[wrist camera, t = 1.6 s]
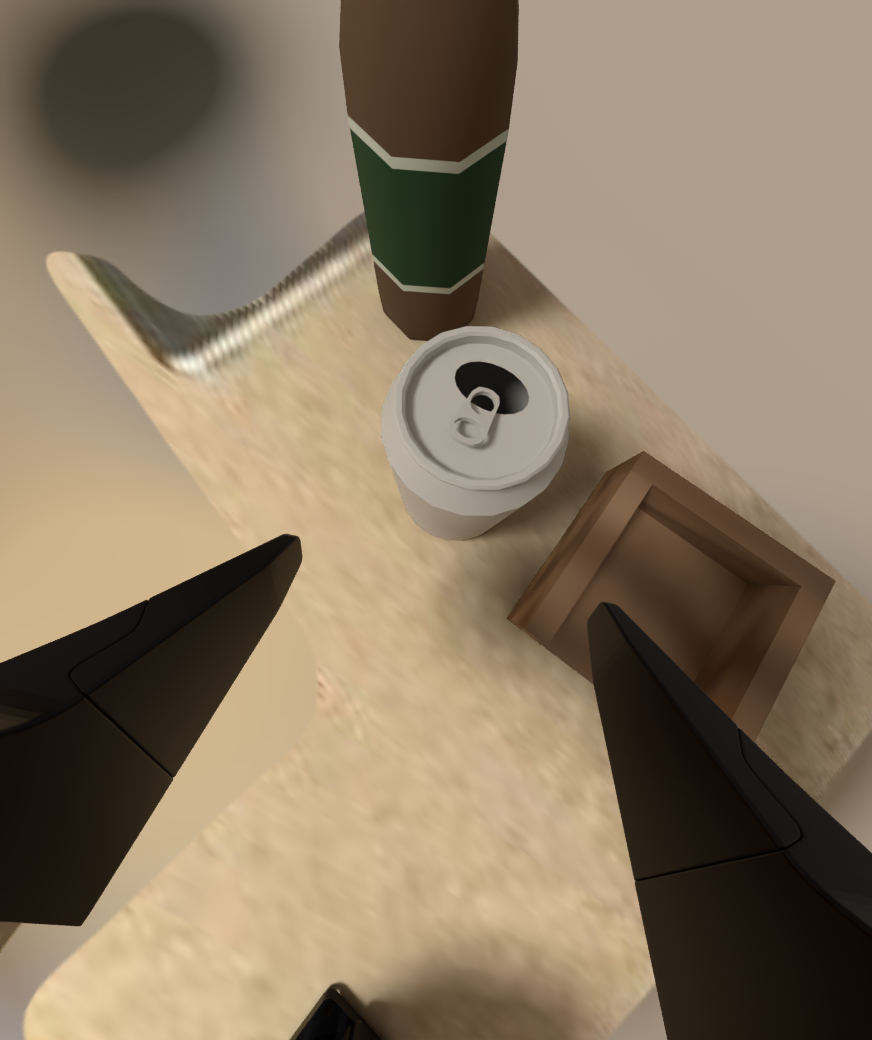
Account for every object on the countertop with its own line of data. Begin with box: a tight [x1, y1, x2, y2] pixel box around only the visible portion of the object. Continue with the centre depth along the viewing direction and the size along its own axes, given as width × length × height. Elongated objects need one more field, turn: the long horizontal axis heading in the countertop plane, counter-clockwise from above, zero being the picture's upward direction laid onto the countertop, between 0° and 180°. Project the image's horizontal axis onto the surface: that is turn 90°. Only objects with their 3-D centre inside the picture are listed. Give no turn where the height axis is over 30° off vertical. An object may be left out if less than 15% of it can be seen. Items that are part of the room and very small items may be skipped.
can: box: [381, 326, 570, 540], centre depth 16 cm, size 8×8×12 cm
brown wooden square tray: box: [507, 451, 835, 742], centre depth 19 cm, size 13×13×4 cm
